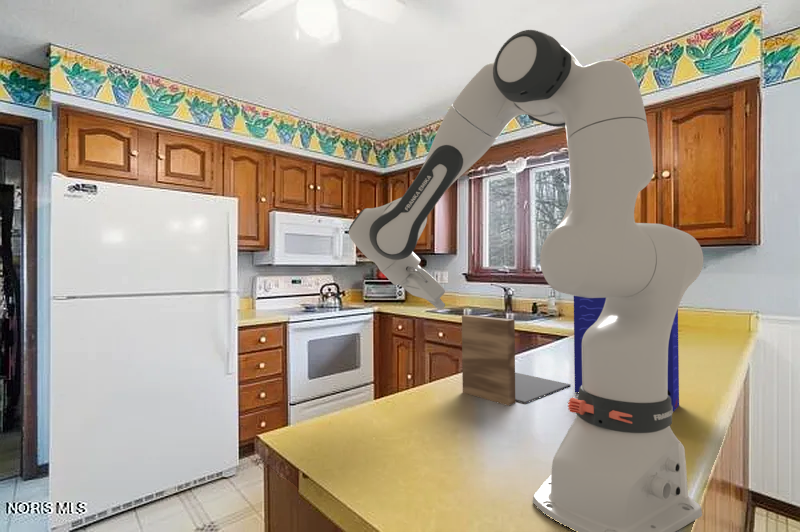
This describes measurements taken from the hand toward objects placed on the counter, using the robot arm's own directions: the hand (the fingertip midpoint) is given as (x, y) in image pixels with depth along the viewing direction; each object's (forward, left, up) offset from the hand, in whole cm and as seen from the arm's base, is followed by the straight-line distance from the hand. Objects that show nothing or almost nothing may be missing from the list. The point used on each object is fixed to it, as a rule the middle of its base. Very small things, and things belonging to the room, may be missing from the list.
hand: (441, 307), depth 102 cm
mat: (+24, -6, -23) cm, 34 cm away
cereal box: (+35, -29, -23) cm, 50 cm away
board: (+11, -6, -23) cm, 26 cm away
